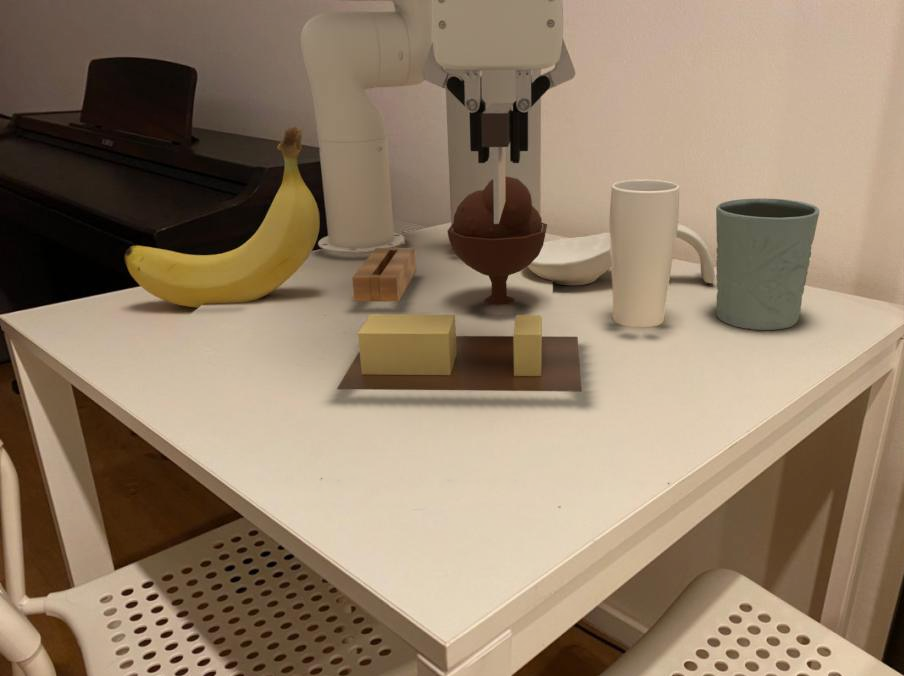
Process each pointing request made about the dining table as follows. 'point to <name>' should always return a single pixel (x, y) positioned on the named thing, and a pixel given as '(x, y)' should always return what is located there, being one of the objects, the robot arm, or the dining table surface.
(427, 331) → the butter
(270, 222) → the banana
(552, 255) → the spoon rest
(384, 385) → the board
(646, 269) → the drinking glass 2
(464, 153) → the cylinder vase
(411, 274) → the knife block
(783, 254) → the green cup
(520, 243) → the ice cream bowl
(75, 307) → the dining table surface
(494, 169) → the knife
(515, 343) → the butter slice
